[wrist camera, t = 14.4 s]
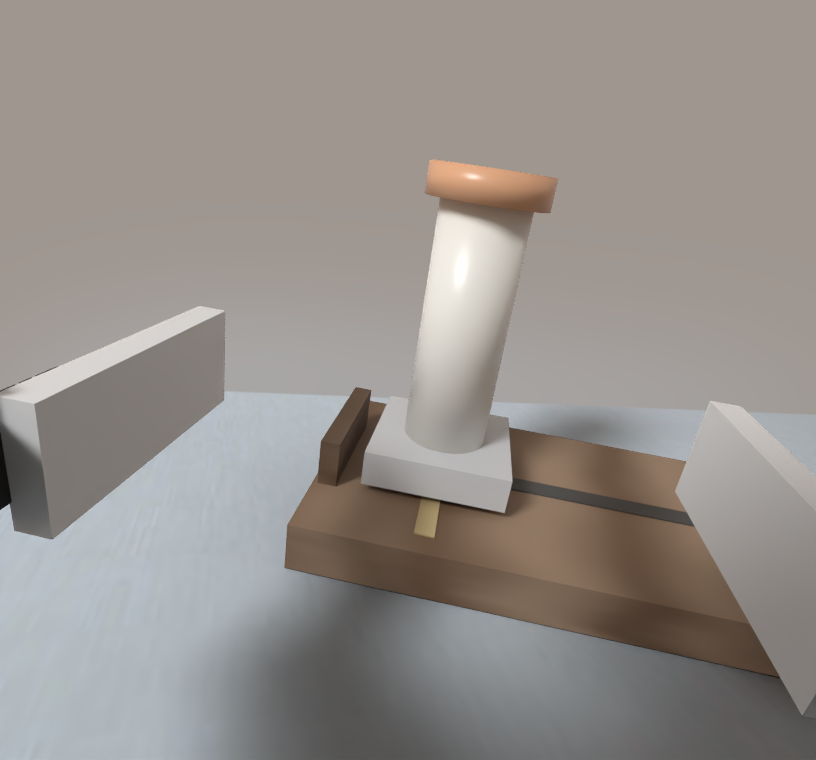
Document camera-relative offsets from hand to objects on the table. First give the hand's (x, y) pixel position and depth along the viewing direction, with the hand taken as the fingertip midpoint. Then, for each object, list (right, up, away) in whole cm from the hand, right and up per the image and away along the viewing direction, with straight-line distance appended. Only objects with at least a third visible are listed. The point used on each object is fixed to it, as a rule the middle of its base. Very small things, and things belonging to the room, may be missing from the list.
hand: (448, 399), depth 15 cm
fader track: (+9, -7, +10) cm, 15 cm away
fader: (0, -4, +10) cm, 11 cm away
